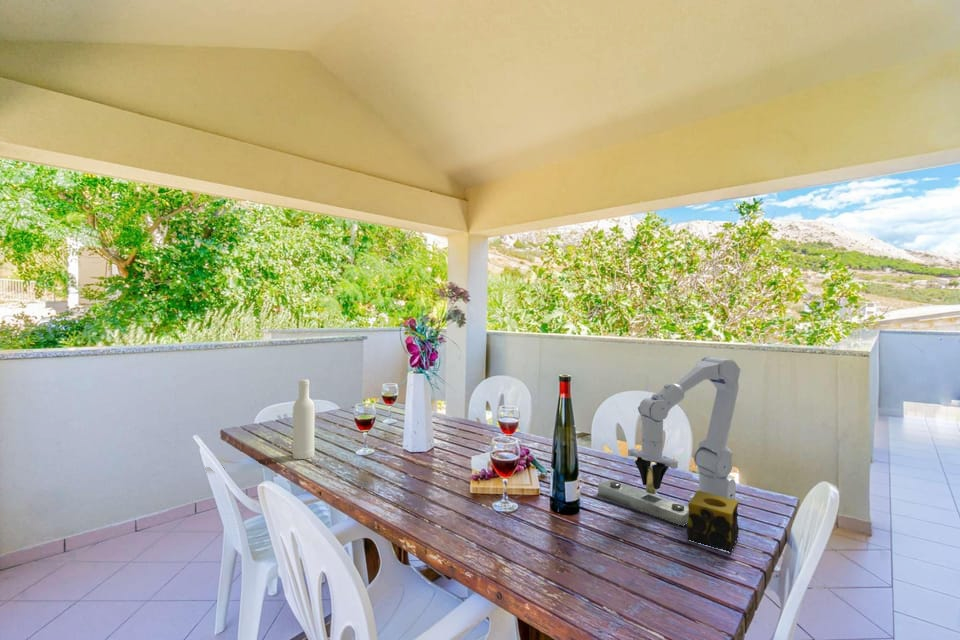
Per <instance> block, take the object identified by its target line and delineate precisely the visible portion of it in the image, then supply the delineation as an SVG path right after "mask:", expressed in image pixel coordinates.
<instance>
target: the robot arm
mask: <svg viewBox="0 0 960 640" xmlns="http://www.w3.org/2000/svg"><path fill="white" fill-rule="evenodd" d="M695 365H696V366H695V367H694V368H692V369H691V370H690V371H689V372H687V373H686V375H684V376H683V377H682V378H681V379H680V380H679V381H677V382H676V383H671V382H670V383H665V384H664V385H663V388H661V389H660V390H659V391H657V392H656V393H653V394H652V395H651V397H646V398H644V399H642V400H641V402H640V404H639V406H637V411H638V413H639V415H640V419H641V449H635V448H629V449H628V450H627V456H628V457H633V458H636V460H634V463H635V465H636V467H637V469H638V471H639V474H640V475H639V476H640V477H641V482H642V485H643V486H646V470H647V467H648V466H651V467H652V469H653V473H654V489H657V490H658V489H660V488H661V485H662V480H663V479H664V477H665V474H666V472H667V471H668V469H669V468H671V469H672V470H675V469H678V467H679V466H678V464H679V462H678V460H675V459H674V458H673V459H672V458H671V457H668V456H666V455H664V454H663V451H664V449H663V447H664V446H663V445H664V442H663V441H664V436H663V435H664V420H665V419H667V417H668V414H669V412H670V411H671V409H672V408H674V407H675V406H676V405H678V404H679V403H680V402H682V401H683V400H684V399H685V393H687V392H688V391H689V390H691V389H692V388H694V387H697V385H699V384H701V383H702V382H703V381H705V380H709V382H711V383H712V385H714V387H715V388H716V393H715V397H714V403H713V407H712V412H711V416H710V419H709V424H708V425H709V426H708V429H707V434H706V438H705V439H704V440H702V441H700V442H699V443H698V447H697V449H696V450H695V452H694V453H693V461H694V464H695V465H696V466H697V470H698V491H702V492H706V493H710V494H713V495H717V496H722V497H725V498H729V499H734V500H736V492H737V491H736V481H735V479H733V478H731V477H730V476H729V475H730V474H731V472H732V471H733V461H732V460H733V459H732V458H733V452H732V451H731V449H730V448H729V446H728V445H727V443H728V439H729V433H730V429H731V426H732V420H733V416H734V412H735V407H736V406H735V405H736V400H737V396H738V393H739V378H740V373H741V368H740V367H739V365H738V364H737V362H736V361H735V360H734V359H729V358H720V357H718V358H717V357H713V356H704V357H702V359H701V360H699V361H696V364H695ZM652 463H655V464H653V465H651V464H652Z"/></svg>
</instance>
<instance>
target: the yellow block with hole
mask: <svg viewBox="0 0 960 640" xmlns="http://www.w3.org/2000/svg"><path fill="white" fill-rule="evenodd" d="M688 507H689V511H688V512H689V514H688V524H687V525H686V526H687V527H686V528H687V529H686V535H687V537H686V539H688V540H691V541H694V542H697V543H701V544H704V545H708V546H711V547H714V548H718V549H723V550H726V551H729V552H731V551H732V549H733V550H734V548H733V546H734V545H735V544H736V543H735V541H736V539H737V538H738V539H739V528H740V527H739V524H738V523H739V522H738V516H739V513H738V507H739V500H737V499H735V500H734V499H729V498H725V497H722V496H717V495H713V494H710V493H706V492H702V491H699V490H696V492H695V493H694V495H693V497H692V498H691V499H690V500H689V502H688ZM688 540H687V541H688ZM736 542H737V541H736ZM735 546H736V545H735ZM735 546H734V547H735ZM732 552H733V551H732Z"/></svg>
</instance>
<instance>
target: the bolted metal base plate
mask: <svg viewBox="0 0 960 640" xmlns="http://www.w3.org/2000/svg"><path fill="white" fill-rule="evenodd" d="M597 494H598V495H600V496H602V497H605V498H608V499H610V500H613V501H615V502H618V503H620V504H622V503H623V504H622V505H625V504H626V506H628V505H629V506H628V507H630V506H632V507H631V508H633V507H635V508H637V509H636V510H638V509H639V510H638V511H640V510H642V511H641V512H643V511H644V512H643V513H645V512H647V513H646V514H648V513H649V514H648V515H651V514H652V515H651V516H653V515H654V517H656V516H657V517H656V518H658V517H660V518H659V519H661V518H662V519H661V520H663V519H665V520H664V521H666V520H668V521H670V522H669V523H671V522H673V523H672V524H674V523H676V524H678V525H677V526H679V525H682V526H683V525H684V524H686V523H688V514H689V512H688V511H689V507H688V506H689V505H688V506H687V505H684V504H682V503H680V502H676V501H674V500H671V499H668V498H665V497H663V496H659V495H656V494H650V493H647V492H646V490H642V489H639V488H636V487H634V486H630V485H628V484H625V483H622V482H620V481H617V480H614V479H609V480H606V481H604V482H601V483H599V484H598V486H597ZM635 508H634V509H635ZM668 521H667V522H668ZM676 524H675V525H676ZM686 525H687V524H686ZM683 527H684V526H683Z"/></svg>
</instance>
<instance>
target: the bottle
mask: <svg viewBox="0 0 960 640" xmlns="http://www.w3.org/2000/svg"><path fill="white" fill-rule="evenodd" d="M298 381H299V382H298V399H296V401H295V402H294V404H293V406H292V458H293V459H294V460H297V459H304V460H308V459H307V458H309V459H312V458H313V457H314V456H315V449H316V447H315V422H316V421H315V417H316V416H315V413H316V411H315V410H316V409H315V407H316V406H315V403H314V401H313V400H312V399H311V397H310V380H309V379H300V380H298ZM311 457H312V458H311Z"/></svg>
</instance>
